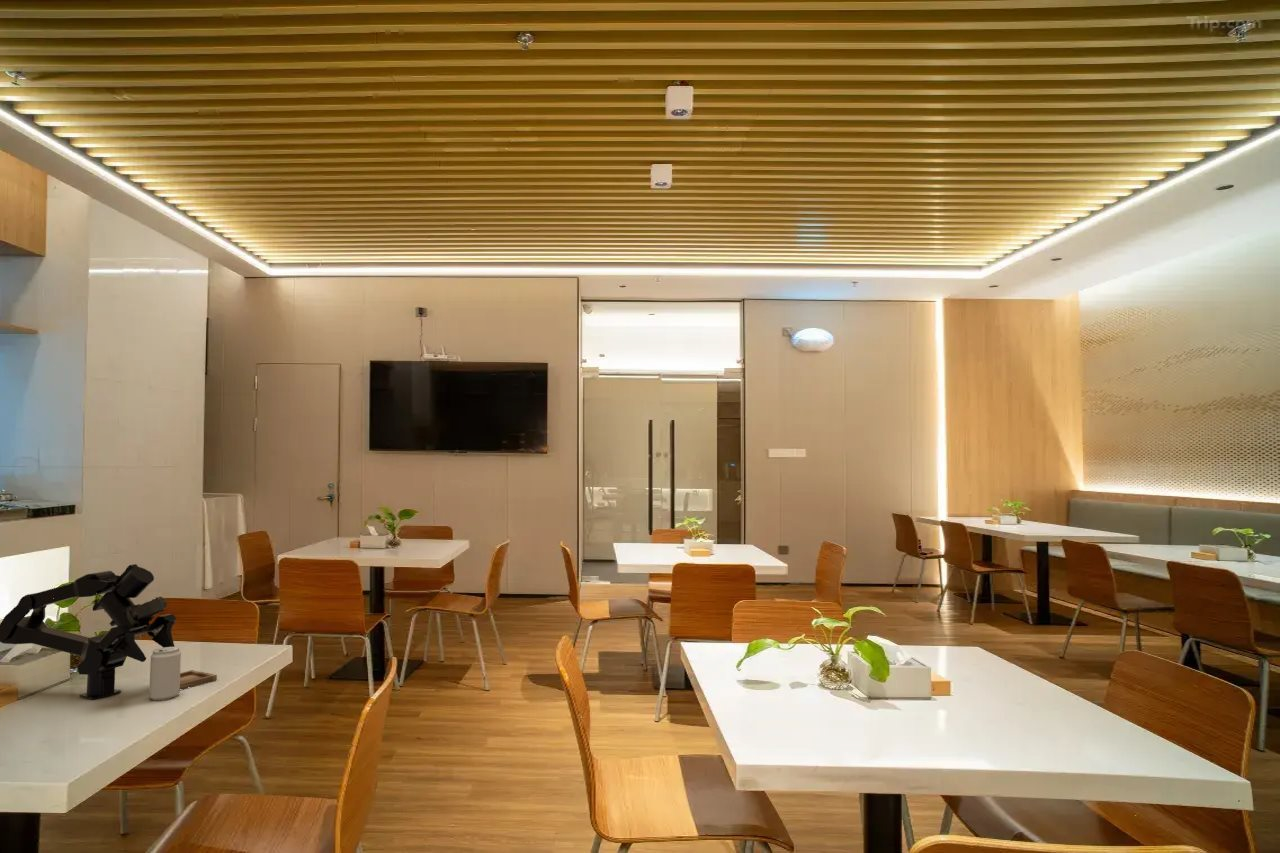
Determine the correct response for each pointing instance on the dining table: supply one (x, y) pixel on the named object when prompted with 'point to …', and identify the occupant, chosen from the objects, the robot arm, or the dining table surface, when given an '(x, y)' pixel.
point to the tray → (195, 678)
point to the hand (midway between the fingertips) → (159, 655)
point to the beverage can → (165, 673)
